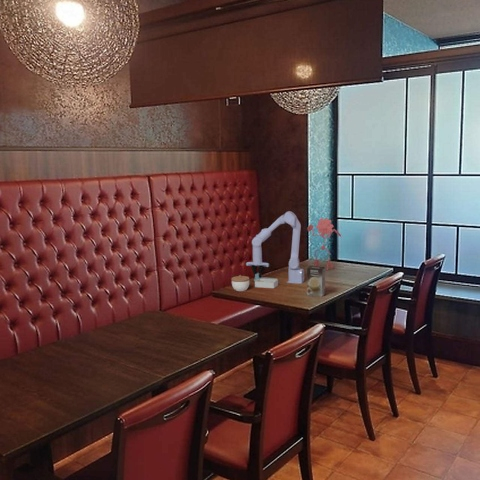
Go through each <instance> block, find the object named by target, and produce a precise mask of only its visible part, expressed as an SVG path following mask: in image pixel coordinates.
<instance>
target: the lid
mask: <svg viewBox="0 0 480 480" xmlns="http://www.w3.org/2000/svg"><path fill="white" fill-rule="evenodd" d="M258 279H259V272H257V274H255V276H254V279H253V281H254V282H255V281H256V280H258ZM261 279H277V280H278V278H274V277H265V276H261Z"/></svg>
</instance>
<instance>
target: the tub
mask: <svg viewBox="0 0 480 480" xmlns="http://www.w3.org/2000/svg"><path fill="white" fill-rule="evenodd" d="M260 281H264V282H260ZM278 286H279V279H278V278H277V279H261V278H259V279H258V280H256V281H254V288H261V289H262V288H265V289H275V288H277V287H278Z"/></svg>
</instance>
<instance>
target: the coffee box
mask: <svg viewBox="0 0 480 480" xmlns="http://www.w3.org/2000/svg"><path fill="white" fill-rule="evenodd" d="M306 284H307V285H306V288H307V290H306V296H311V297H321V298H322V297H324V295H326V266H322V265H321V266H315V265H309V266H308V267H307V268H306Z"/></svg>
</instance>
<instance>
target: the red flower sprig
mask: <svg viewBox="0 0 480 480" xmlns="http://www.w3.org/2000/svg"><path fill="white" fill-rule="evenodd" d="M315 228H316V230H318V233H319V234H314V225H313V224H309V225H308V226H307V232H308V233H309V232H312V236H313V237H316V236H317V237H318V236H319V237H322V238H323V239H324V240H323V244H322V245H321V247H320V248H318V249H316V250H315V251H314V255H315V260H314V261H313V266H321V267H326V271H328V270H329V268H331V269H333V270H334V268H336V266H334V264H333V263H332V262H331V261H330V260H327V261H326V264H327V265H325V264H322V265H321V264H320V261H319V259H317V253H316V252H317V251H319V250H326V251H327V252H328V259H330V257H331V256H330V255H331V253H330V251H329V250H328V249H327V248H326V246H325V243H326V239H327V240H328V239H329V238H330V236H331V235H332V234H333V232H334V233H336V235H338V237H342V234H341V233H340V232H339V231H338V230H336V229H335V227H334V225H333V223H332V220H331V219H328V217H326V218H323V217H320V220H319V221H317V225H316V226H315ZM325 235H326V236H325ZM327 236H328V237H327Z"/></svg>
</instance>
